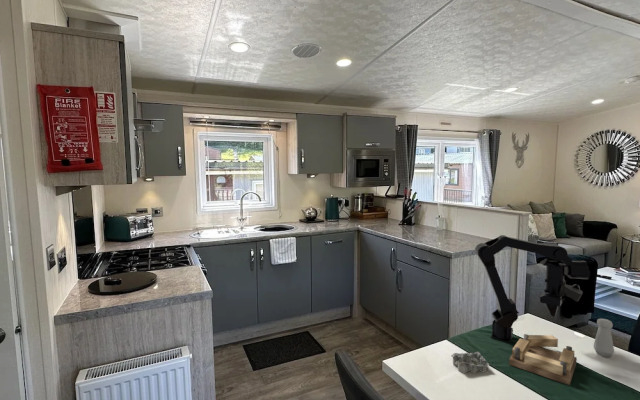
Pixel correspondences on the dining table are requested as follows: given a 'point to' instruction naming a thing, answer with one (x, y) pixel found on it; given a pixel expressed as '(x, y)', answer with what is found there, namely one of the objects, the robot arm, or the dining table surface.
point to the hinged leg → (541, 340)
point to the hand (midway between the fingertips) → (553, 316)
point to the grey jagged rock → (470, 358)
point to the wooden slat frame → (544, 361)
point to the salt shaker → (604, 338)
